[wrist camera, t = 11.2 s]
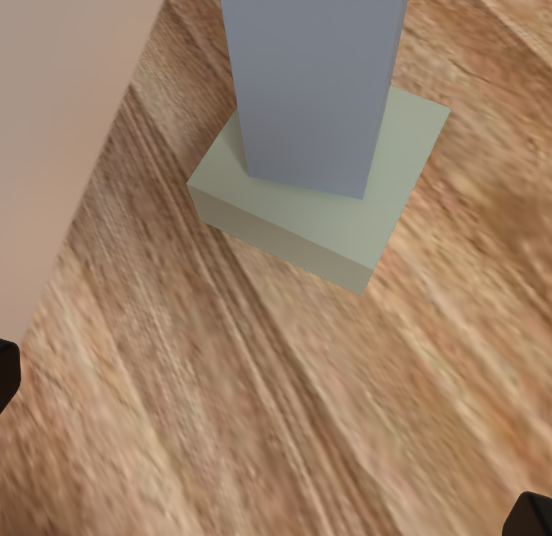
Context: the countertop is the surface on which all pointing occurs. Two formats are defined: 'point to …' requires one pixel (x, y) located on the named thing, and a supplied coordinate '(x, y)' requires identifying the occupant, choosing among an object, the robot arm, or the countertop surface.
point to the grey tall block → (312, 86)
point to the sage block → (320, 197)
